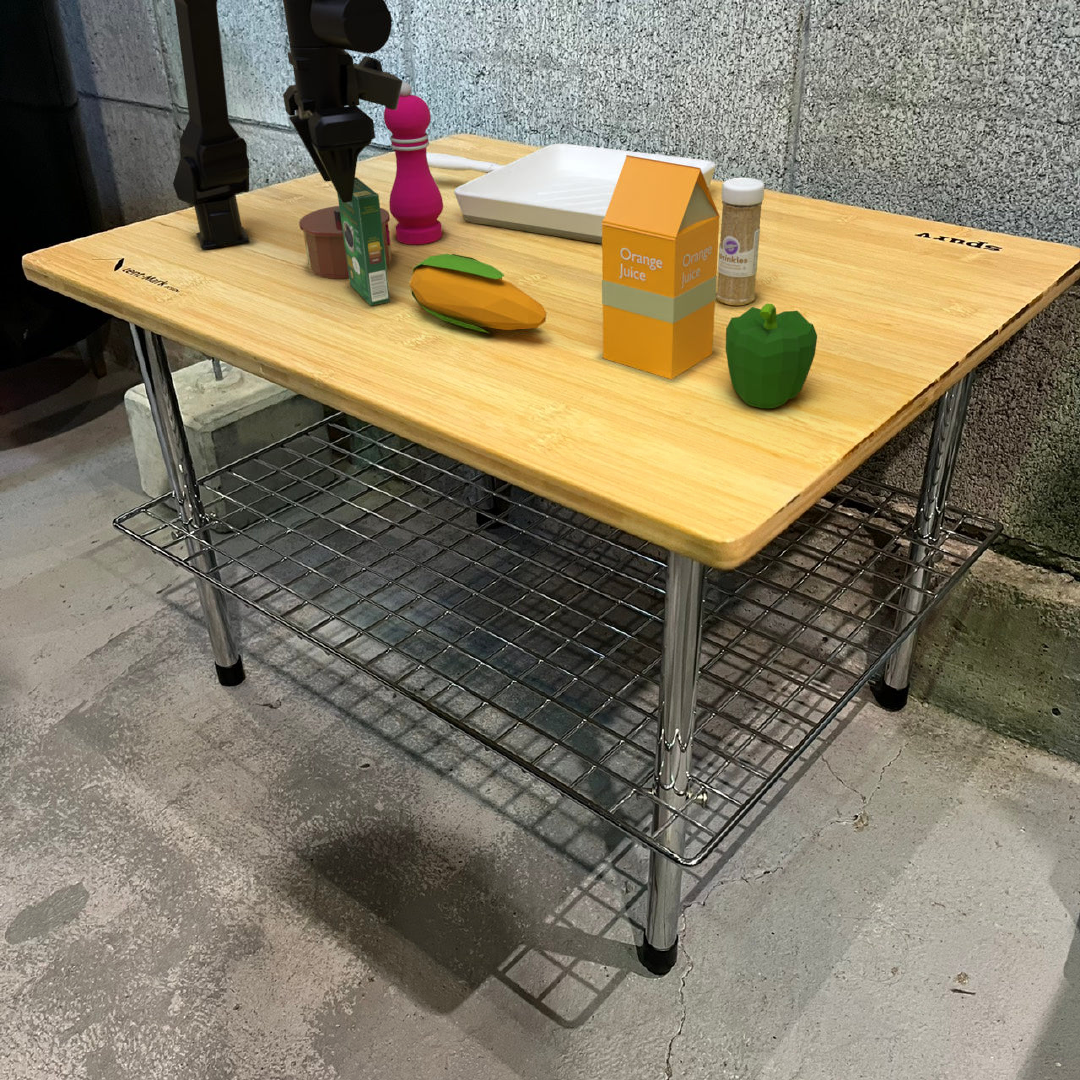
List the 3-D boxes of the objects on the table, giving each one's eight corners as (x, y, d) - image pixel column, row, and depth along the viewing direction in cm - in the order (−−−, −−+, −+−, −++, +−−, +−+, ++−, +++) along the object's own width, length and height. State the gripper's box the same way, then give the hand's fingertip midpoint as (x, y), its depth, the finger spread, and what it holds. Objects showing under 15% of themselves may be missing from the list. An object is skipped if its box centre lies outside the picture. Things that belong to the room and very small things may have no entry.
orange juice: (671, 379, 109) (677, 178, 98) (601, 358, 114) (600, 163, 103) (714, 353, 114) (724, 158, 103) (645, 333, 119) (648, 145, 108)
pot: (302, 258, 144) (295, 216, 141) (380, 245, 147) (375, 204, 144) (318, 284, 136) (311, 241, 133) (400, 270, 139) (396, 227, 136)
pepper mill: (437, 247, 146) (422, 88, 134) (386, 245, 147) (367, 88, 136) (451, 229, 151) (438, 76, 140) (402, 228, 153) (385, 76, 142)
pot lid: (292, 221, 142) (289, 203, 140) (378, 208, 145) (375, 190, 143) (310, 247, 133) (307, 228, 131) (400, 232, 136) (398, 214, 135)
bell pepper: (756, 370, 110) (764, 275, 105) (825, 395, 105) (836, 296, 100) (703, 398, 106) (707, 300, 100) (772, 425, 101) (781, 324, 95)
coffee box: (393, 303, 130) (379, 192, 122) (370, 307, 129) (355, 196, 121) (371, 282, 136) (357, 175, 128) (349, 286, 135) (333, 179, 127)
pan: (628, 253, 140) (628, 215, 138) (360, 209, 161) (355, 175, 158) (720, 193, 160) (721, 159, 157) (470, 161, 181) (468, 129, 178)
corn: (435, 233, 126) (568, 268, 115) (445, 294, 131) (573, 333, 120) (389, 255, 122) (521, 294, 111) (400, 318, 127) (528, 361, 115)
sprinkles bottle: (711, 304, 125) (717, 186, 118) (721, 290, 129) (727, 174, 121) (751, 308, 124) (759, 189, 116) (759, 294, 127) (768, 177, 120)
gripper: (414, 48, 111) (429, 202, 119) (369, 23, 125) (385, 161, 134) (305, 60, 107) (328, 218, 116) (272, 33, 122) (295, 174, 131)
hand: (337, 191), depth 124 cm, fingers open, 9 cm apart
